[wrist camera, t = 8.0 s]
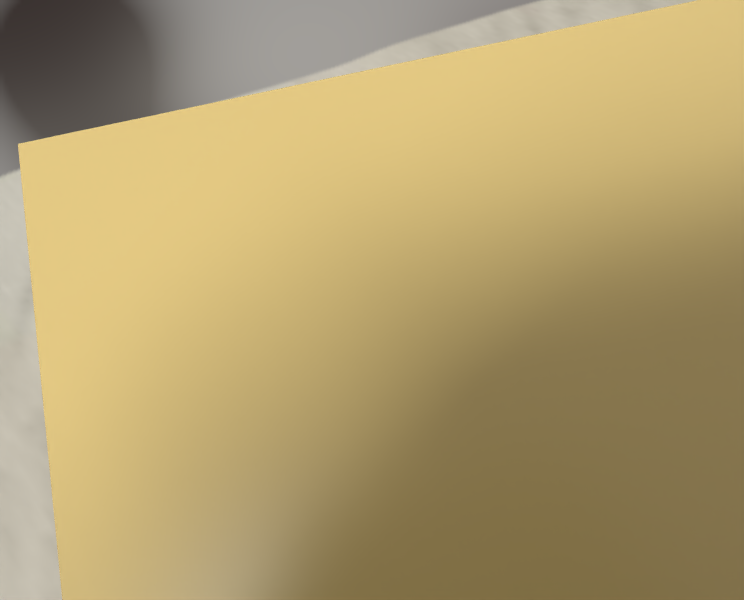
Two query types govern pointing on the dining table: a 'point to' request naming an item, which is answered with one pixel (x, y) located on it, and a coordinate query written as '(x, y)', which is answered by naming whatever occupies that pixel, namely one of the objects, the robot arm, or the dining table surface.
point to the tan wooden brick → (408, 328)
